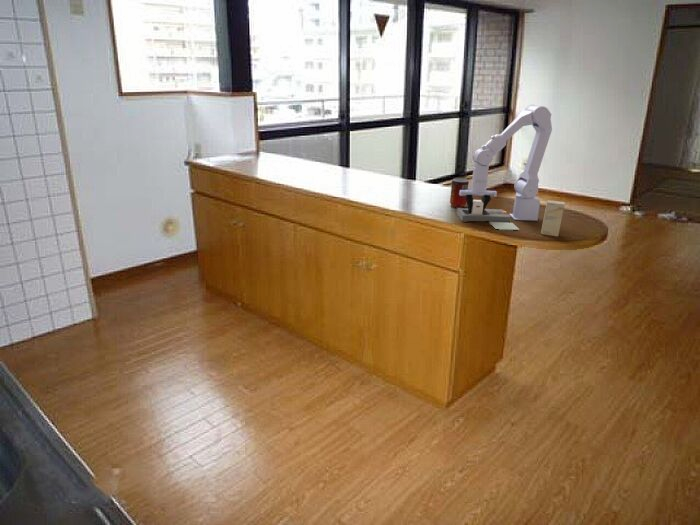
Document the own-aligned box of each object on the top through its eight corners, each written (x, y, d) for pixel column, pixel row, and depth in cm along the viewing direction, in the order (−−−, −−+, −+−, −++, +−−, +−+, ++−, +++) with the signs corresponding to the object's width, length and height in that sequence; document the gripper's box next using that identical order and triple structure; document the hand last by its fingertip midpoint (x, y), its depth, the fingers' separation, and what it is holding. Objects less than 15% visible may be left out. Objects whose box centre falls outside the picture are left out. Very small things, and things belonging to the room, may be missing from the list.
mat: (512, 223, 201) (512, 222, 200) (519, 230, 192) (519, 229, 192) (489, 223, 200) (489, 221, 200) (495, 230, 192) (495, 228, 192)
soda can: (469, 206, 224) (472, 178, 219) (459, 209, 219) (462, 181, 215) (455, 203, 228) (458, 176, 224) (446, 206, 224) (448, 178, 219)
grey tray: (502, 215, 212) (502, 208, 211) (509, 222, 202) (510, 215, 201) (456, 213, 212) (457, 206, 211) (461, 221, 202) (462, 214, 201)
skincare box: (540, 234, 189) (546, 202, 184) (541, 231, 192) (546, 199, 188) (558, 236, 187) (564, 204, 182) (558, 233, 190) (564, 201, 186)
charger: (478, 216, 209) (480, 199, 207) (481, 220, 205) (483, 203, 202) (468, 216, 209) (470, 199, 207) (471, 219, 204) (473, 202, 202)
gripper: (463, 181, 198) (459, 215, 202) (500, 182, 198) (496, 216, 203) (459, 178, 204) (456, 210, 209) (495, 179, 204) (491, 211, 209)
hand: (475, 213), depth 206 cm, fingers open, 4 cm apart
